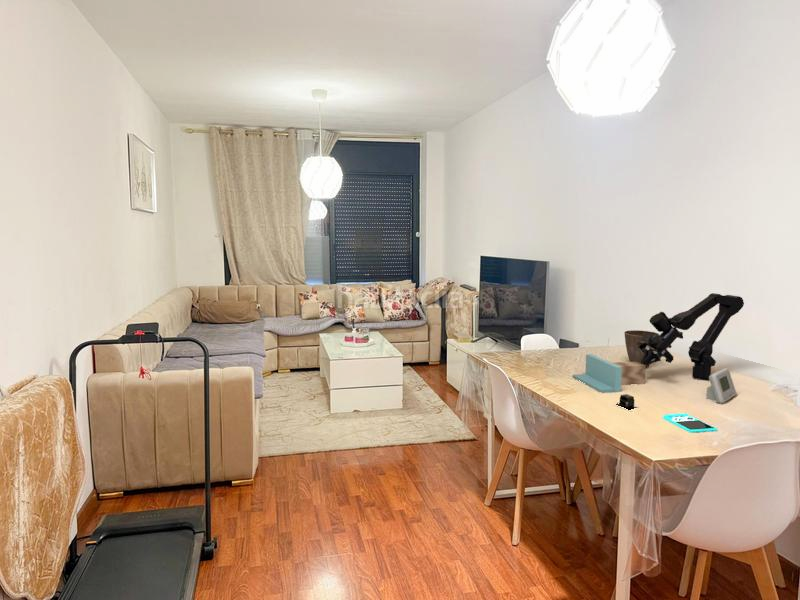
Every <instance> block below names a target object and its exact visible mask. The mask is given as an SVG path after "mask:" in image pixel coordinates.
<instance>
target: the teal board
mask: <svg viewBox="0 0 800 600" xmlns="http://www.w3.org/2000/svg"><path fill="white" fill-rule="evenodd" d="M613 363H614V362H611V361H609V360H606V359H604V358H601V357H599V356H597V355H595V354H592V353H586V354H585V368H584V370H585V373H581V374H580V373H578V374H572V376H571V377H572V378H573V379H574V378H575V380H576V379H577V381H578V380H580V381H581V382H580V381H579V382H580V383H582V382H583V383H582V384H584V383H585V384H584V385H586V384H587V385H588V386H587V385H586V386H587V387H589V386H590V387H589V388H591V387H592V388H591V389H593V388H594V389H593V390H595V391H597V392H598V393H600V392H602V393H601V394H605V393H604V392H609V393H621V392H622V385H621V375H622V367H620V366H618V365H616V364H613Z"/></svg>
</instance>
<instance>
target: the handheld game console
mask: <svg viewBox="0 0 800 600" xmlns="http://www.w3.org/2000/svg"><path fill="white" fill-rule="evenodd" d="M662 418H663V420H665V421H667V422H669V423H671V424H673V426H677V427H679V428H680V429H681V430H682V429H683V431H686V432H688V433H691V434H695V433H704V432H705V433H708V432H709V433H710V432H718V428H716V427H715V426H712V425H711V424H708V423H706V422H704V421H702V420H700V419H698V418H696V417H694V416H692V415H690V414H687V413H685V412H683V413H670V414H664V415H663V416H662Z"/></svg>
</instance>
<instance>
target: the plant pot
mask: <svg viewBox="0 0 800 600" xmlns="http://www.w3.org/2000/svg"><path fill="white" fill-rule="evenodd" d="M643 333H647V334H650V335H653V334H656V335H658V336H659V335H660V334H659V332H654V331H648V330H639V329H638V330H635V329H634V330H626V331H624V341H625V347H626V353H627V358H628V360H629V361H628V362H638V363H641V361H642V358H643V356H644V353H643V352H642V351H641V350H640V349H639V348H638V347H637V346H636V344H637V343H638V342H639V341H642V342H645V343H648V342H646V341H644V340H641V338H642V336H643ZM649 346H650V345H649ZM650 365H651V364H649V365H646V369H648V368H649V366H650Z"/></svg>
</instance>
